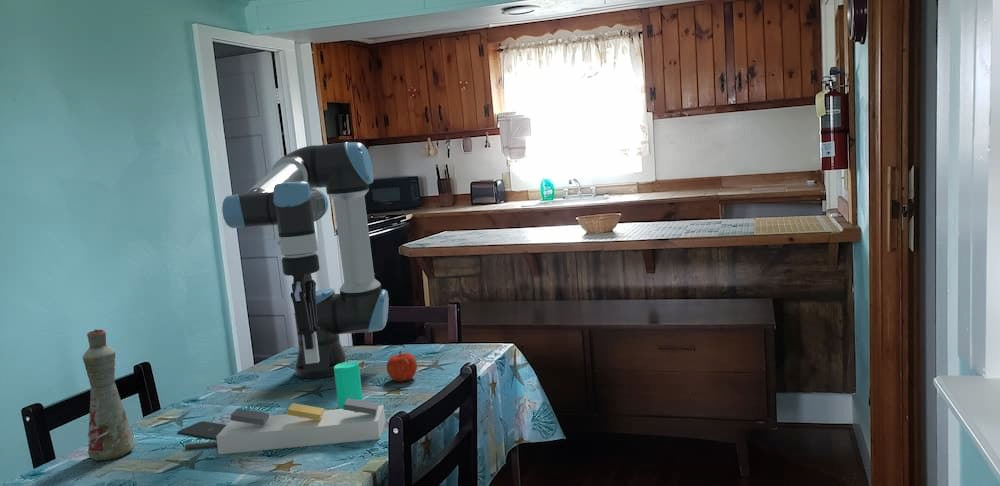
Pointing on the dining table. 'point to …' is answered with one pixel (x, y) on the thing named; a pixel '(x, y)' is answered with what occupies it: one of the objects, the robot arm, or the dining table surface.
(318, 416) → the rocker
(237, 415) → the block
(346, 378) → the candle
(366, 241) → the robot arm
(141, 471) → the dining table surface
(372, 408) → the block
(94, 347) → the bottle
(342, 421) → the power strip
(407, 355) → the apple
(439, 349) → the dining table surface
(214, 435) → the smartphone
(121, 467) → the dining table surface
